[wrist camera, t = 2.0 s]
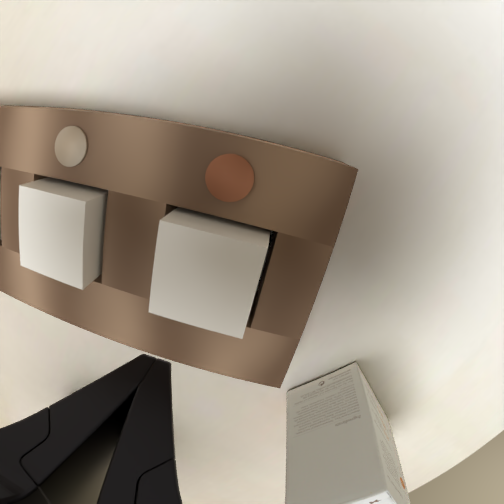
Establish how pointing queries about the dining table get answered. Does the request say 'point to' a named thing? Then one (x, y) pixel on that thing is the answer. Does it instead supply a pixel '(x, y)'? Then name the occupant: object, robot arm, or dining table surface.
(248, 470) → the dining table surface
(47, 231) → the key mid
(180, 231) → the key
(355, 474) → the small box
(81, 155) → the key board
